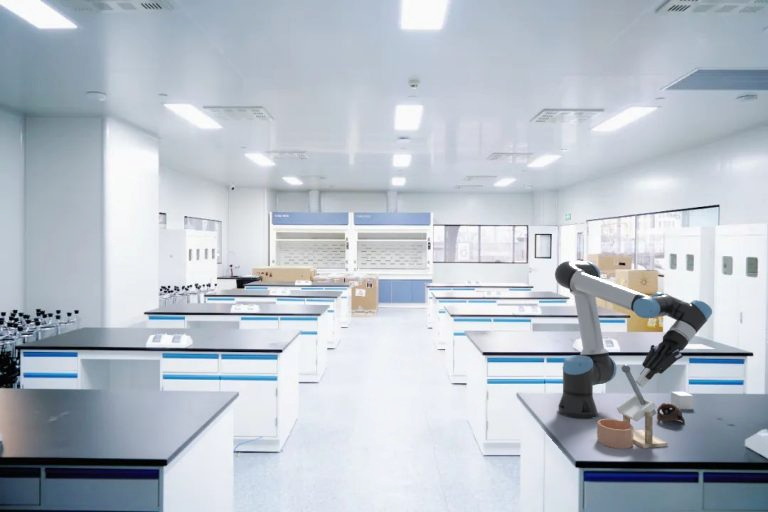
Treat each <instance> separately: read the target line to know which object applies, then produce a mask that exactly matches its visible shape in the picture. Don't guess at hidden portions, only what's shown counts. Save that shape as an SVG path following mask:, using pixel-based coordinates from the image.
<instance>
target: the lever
mask: <svg viewBox="0 0 768 512" xmlns="http://www.w3.org/2000/svg"><path fill="white" fill-rule="evenodd" d="M621 372H623V373H624V374H625V377H626V378H627V380H628V382H629V384H630V386H631V387H632V390H633V392H634V393H635V394H633V395H632V396H631V397H629V398H628V399H626V400H625V401H623V402H622V403H620V404H619V405H618V406H616V407H615V408H616V410H617V412H618V413H619V414H621V415H622V416H623V415H624V416H627V417H629V418H630V420H633V421H635V422H639V421H640V420H641V419H643V418H645V412H651V413H653V417H654V416H655V415H657V410H656V409H658V408H657V406H656V404H655V402H654V401H652V400H650V399H647V398H645V397H644V396H643V394H642V393H641V390H640V388H639V385H638V384H637V383H636V382H635V380H636V379H635V378H634V377H633V373H631V367H630V366H629V365H628V364H623V365H622V366H621Z"/></svg>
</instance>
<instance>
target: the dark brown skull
mask: <svg viewBox="0 0 768 512" xmlns="http://www.w3.org/2000/svg"><path fill="white" fill-rule="evenodd" d="M681 410H682V409H678V408H677V407H676V406H675V405H672V404H671V403H665V402H664V403H661V404H660V405H659V406H658V408H656V413H657V414H656V419H657V421H658V423H660V422H672V421H681V422H682V423H683V424H684V425H685V424H686V421H685V418H684V417H683V413H682V411H681Z"/></svg>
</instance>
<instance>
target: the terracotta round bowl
mask: <svg viewBox="0 0 768 512" xmlns="http://www.w3.org/2000/svg"><path fill="white" fill-rule="evenodd" d="M596 424H597V425H596V427H597V429H596V430H597V432H596V434H597V435H596V438H597V442H598V443H599V444H601V445H602V446H605V447H606V448H607V447H608V448H612V449H616V450H617V449H619V450H627V449H631V448H633V446H634V443H633V431H634V426H633V425H632V424H631V423H630V424H629V423H627V422H624V421H623V420H622V419H621V420H620V419H616V418H614V419H613V418H603V419H599V420H598V421H597V422H596Z"/></svg>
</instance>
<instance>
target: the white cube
mask: <svg viewBox="0 0 768 512" xmlns="http://www.w3.org/2000/svg"><path fill="white" fill-rule="evenodd" d="M670 404H672V405H675V406H676V407H677V408H679V410H694V395H692V394H691V393H688V392H686V391H670Z"/></svg>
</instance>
